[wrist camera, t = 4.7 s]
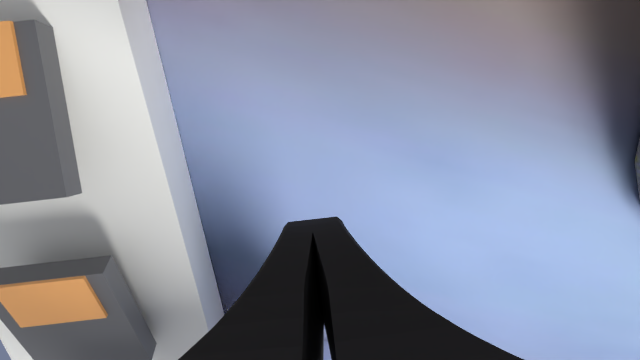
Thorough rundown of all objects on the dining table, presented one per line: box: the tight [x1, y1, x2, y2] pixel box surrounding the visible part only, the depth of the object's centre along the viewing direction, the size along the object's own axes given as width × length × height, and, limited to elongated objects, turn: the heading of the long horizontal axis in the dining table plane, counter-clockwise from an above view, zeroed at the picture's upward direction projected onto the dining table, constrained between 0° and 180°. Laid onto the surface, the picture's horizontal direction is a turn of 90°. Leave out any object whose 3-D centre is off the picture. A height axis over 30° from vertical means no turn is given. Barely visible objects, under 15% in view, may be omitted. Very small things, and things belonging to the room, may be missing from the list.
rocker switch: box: [0, 255, 157, 360], centre depth 18 cm, size 6×5×1 cm
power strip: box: [0, 0, 224, 360], centre depth 18 cm, size 31×10×3 cm, turn 6°
